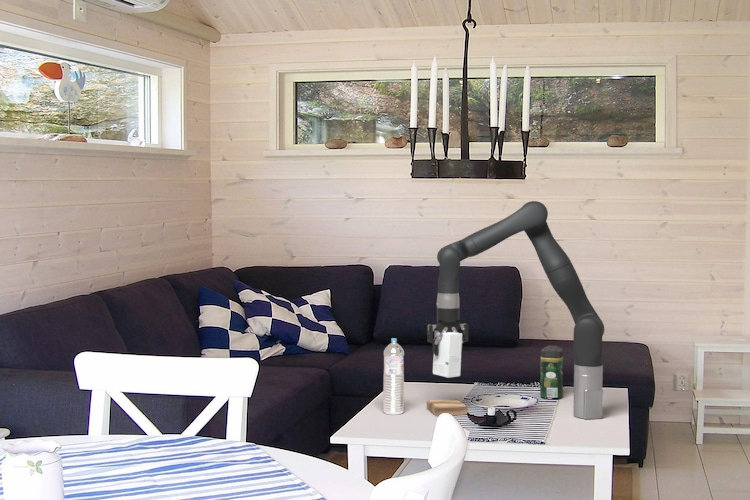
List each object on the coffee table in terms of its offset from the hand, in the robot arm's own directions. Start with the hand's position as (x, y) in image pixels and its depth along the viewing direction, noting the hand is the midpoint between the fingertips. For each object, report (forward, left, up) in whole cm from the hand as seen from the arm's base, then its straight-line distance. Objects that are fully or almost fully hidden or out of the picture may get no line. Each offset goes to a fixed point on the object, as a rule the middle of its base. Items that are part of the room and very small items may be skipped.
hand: (447, 354), depth 314 cm
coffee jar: (+15, -44, -20) cm, 50 cm away
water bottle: (+2, +18, -20) cm, 27 cm away
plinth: (0, 0, -19) cm, 19 cm away
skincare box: (0, 0, -7) cm, 7 cm away
